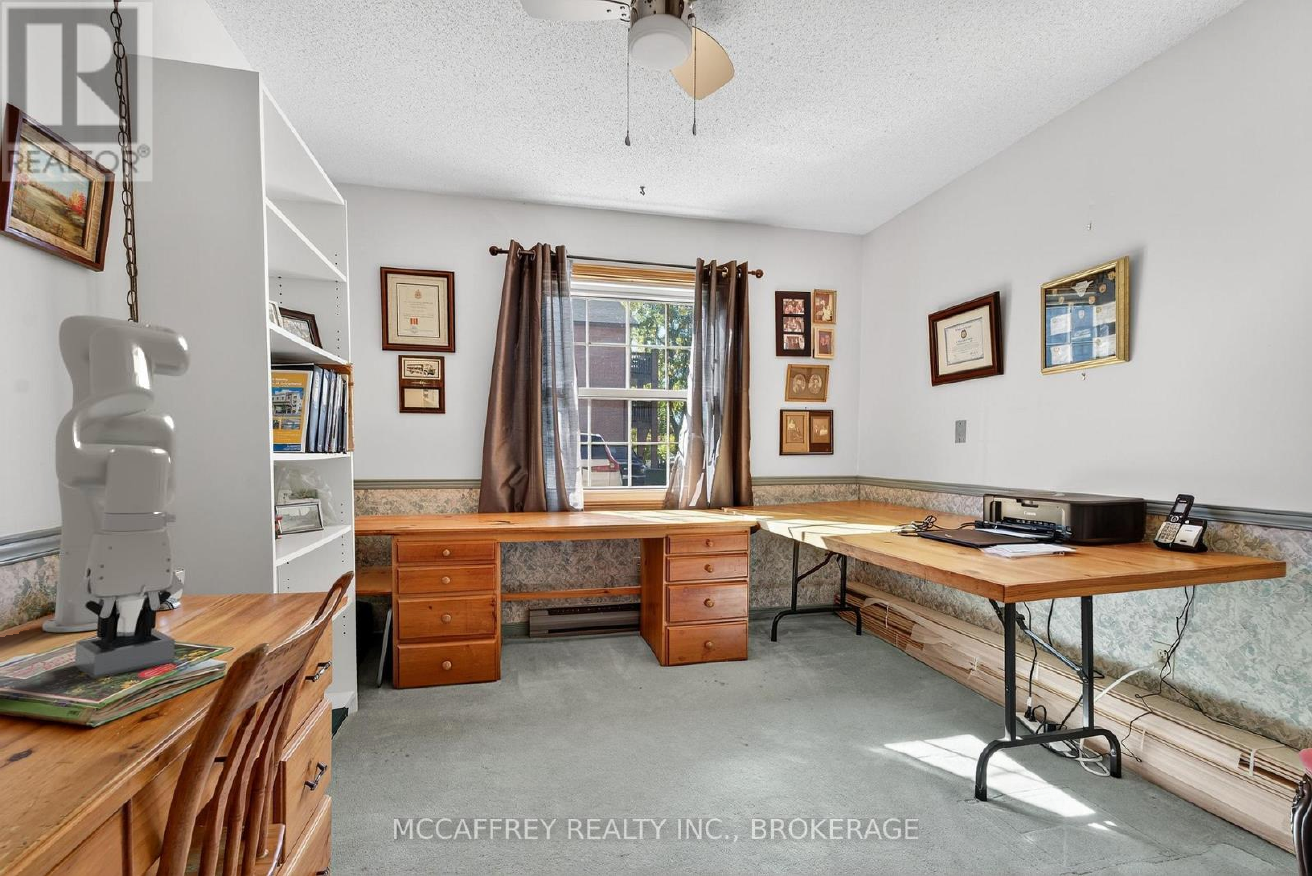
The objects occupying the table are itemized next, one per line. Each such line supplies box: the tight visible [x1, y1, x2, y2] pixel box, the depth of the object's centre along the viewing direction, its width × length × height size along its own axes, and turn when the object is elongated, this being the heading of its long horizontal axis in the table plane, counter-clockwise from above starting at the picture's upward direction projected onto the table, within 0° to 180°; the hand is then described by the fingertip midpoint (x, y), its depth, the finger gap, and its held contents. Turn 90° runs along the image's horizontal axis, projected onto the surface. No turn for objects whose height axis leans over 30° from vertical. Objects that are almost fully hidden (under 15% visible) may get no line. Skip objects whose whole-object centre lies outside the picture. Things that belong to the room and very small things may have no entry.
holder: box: [74, 628, 176, 680], centre depth 93 cm, size 10×10×4 cm
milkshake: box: [110, 586, 148, 649], centre depth 94 cm, size 4×5×10 cm
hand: (126, 636), depth 94 cm, fingers closed on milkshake, 4 cm apart
